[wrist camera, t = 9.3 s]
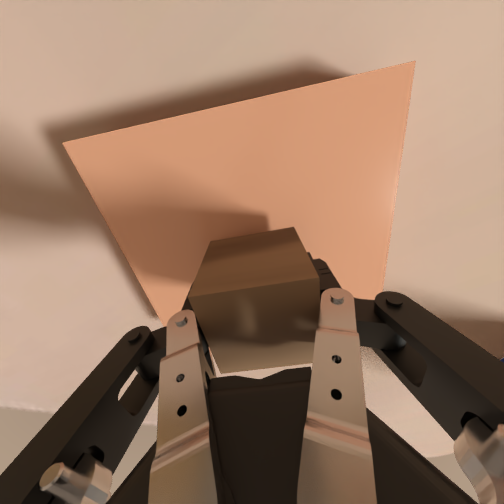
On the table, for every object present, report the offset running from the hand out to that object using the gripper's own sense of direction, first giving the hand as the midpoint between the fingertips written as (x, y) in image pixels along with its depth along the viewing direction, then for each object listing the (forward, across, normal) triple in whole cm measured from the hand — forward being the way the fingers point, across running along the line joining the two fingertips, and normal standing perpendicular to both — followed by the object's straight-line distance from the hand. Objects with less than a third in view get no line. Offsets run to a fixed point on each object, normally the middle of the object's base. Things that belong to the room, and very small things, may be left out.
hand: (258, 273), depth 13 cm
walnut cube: (0, 0, 0) cm, 0 cm away
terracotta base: (+6, 0, 0) cm, 6 cm away
